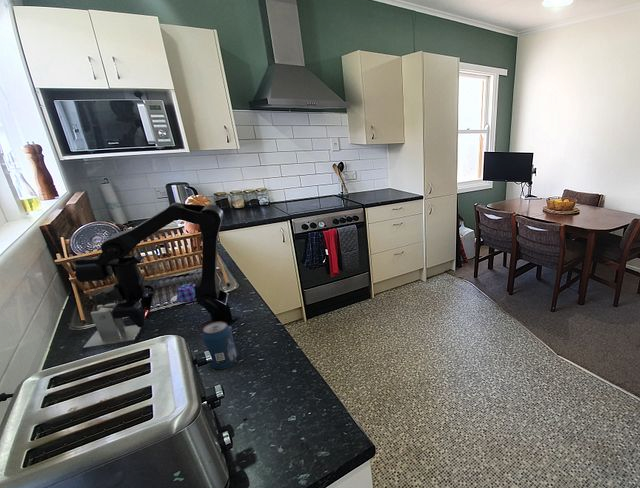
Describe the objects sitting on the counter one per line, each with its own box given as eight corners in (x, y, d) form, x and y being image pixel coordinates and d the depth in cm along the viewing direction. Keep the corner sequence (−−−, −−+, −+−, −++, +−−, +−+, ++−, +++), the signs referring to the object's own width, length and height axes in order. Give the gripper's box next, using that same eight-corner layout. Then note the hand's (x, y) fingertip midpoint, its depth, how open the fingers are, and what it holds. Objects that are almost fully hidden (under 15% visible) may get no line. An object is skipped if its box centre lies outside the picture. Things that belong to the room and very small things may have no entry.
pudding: (204, 288, 137) (201, 276, 135) (212, 300, 129) (209, 287, 127) (168, 297, 130) (164, 285, 128) (174, 310, 122) (170, 297, 120)
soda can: (211, 357, 100) (202, 322, 95) (238, 352, 102) (230, 318, 97) (208, 373, 94) (198, 336, 89) (237, 367, 97) (228, 331, 92)
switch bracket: (144, 327, 112) (133, 297, 108) (134, 342, 105) (122, 312, 100) (97, 333, 108) (84, 303, 104) (84, 350, 101) (69, 319, 96)
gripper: (107, 267, 106) (122, 311, 113) (77, 295, 91) (98, 344, 97) (150, 264, 110) (163, 306, 117) (130, 290, 94) (146, 337, 101)
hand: (143, 322), depth 108 cm, fingers closed on switch lever, 5 cm apart
